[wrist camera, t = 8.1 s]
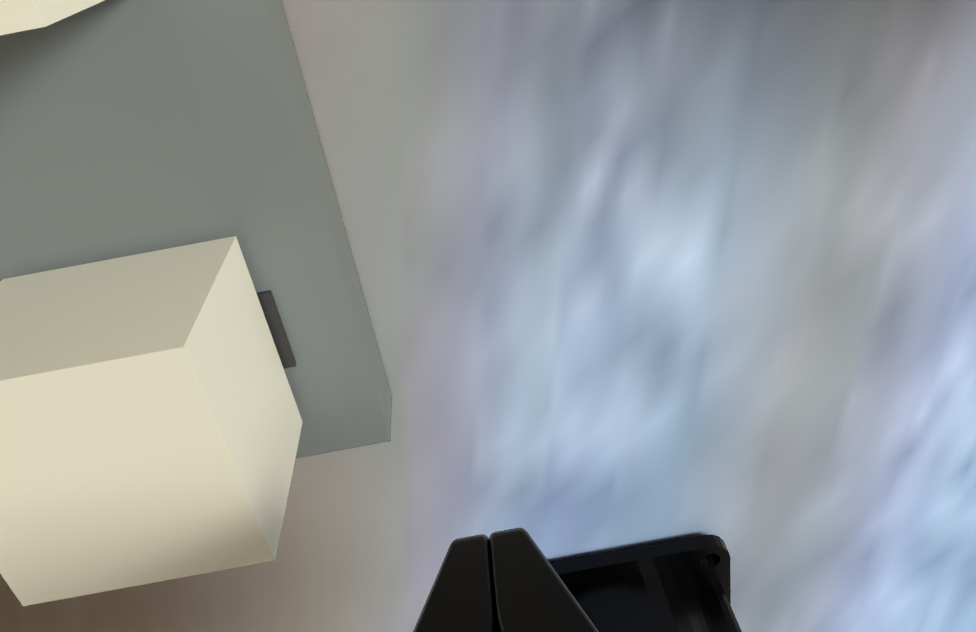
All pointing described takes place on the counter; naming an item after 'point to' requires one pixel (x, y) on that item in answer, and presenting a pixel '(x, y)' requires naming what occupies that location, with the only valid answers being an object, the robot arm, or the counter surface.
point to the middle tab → (37, 13)
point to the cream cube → (139, 423)
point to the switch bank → (192, 178)
